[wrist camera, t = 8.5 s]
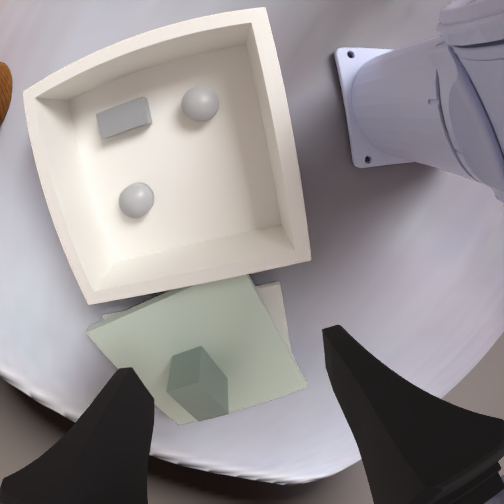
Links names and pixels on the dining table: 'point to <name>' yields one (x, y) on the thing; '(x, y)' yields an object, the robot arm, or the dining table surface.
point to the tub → (171, 158)
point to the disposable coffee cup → (4, 89)
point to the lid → (202, 349)
